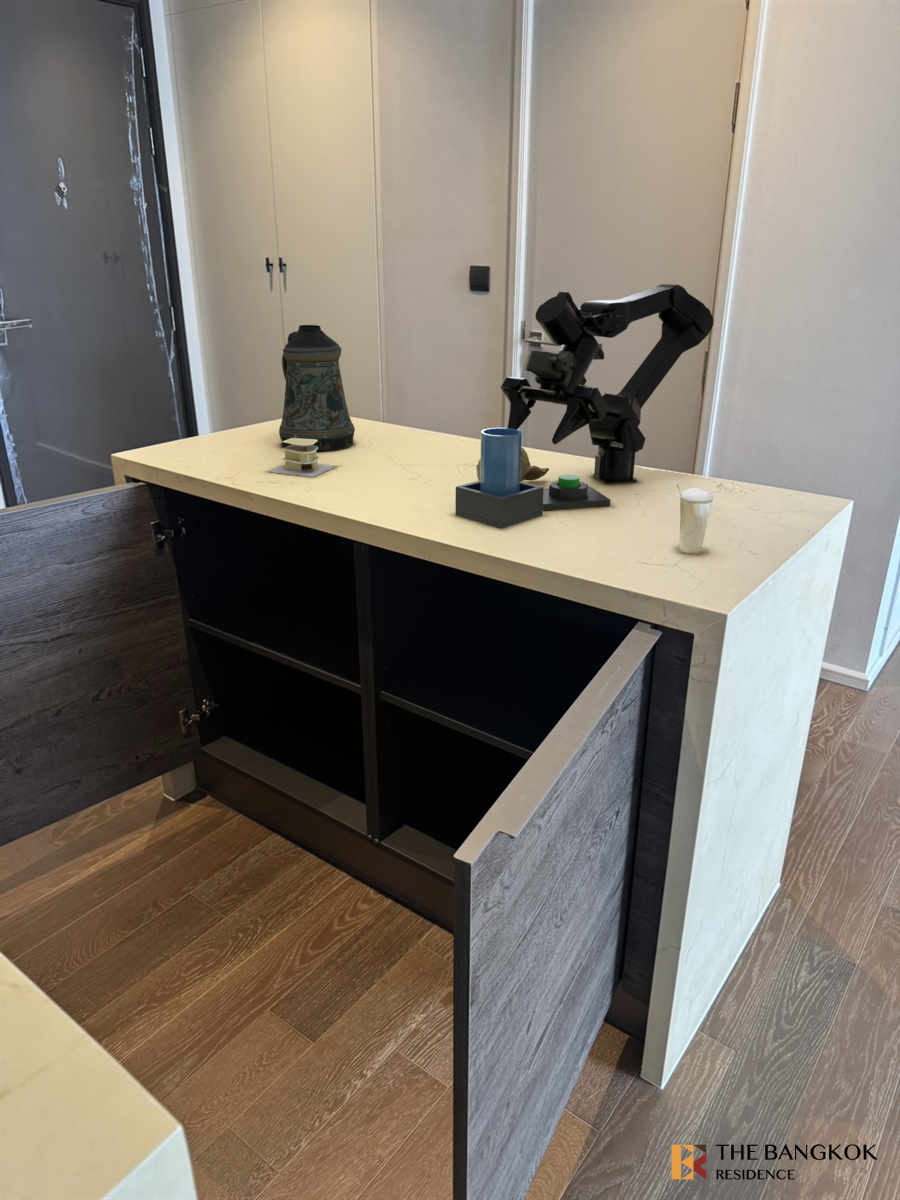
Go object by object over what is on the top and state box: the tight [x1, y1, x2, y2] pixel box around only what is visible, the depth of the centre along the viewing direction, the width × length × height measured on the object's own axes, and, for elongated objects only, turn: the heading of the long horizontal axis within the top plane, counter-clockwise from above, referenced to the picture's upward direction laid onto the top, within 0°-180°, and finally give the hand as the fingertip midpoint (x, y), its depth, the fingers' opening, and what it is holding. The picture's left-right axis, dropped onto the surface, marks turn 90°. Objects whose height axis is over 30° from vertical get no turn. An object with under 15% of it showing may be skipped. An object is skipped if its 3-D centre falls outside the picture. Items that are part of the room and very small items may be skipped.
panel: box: [542, 479, 611, 512], centre depth 149 cm, size 12×9×3 cm
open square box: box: [455, 480, 545, 529], centre depth 141 cm, size 10×10×5 cm
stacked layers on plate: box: [269, 438, 337, 478], centre depth 169 cm, size 10×9×6 cm
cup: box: [479, 427, 522, 497], centre depth 140 cm, size 6×6×13 cm
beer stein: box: [278, 324, 356, 453], centre depth 187 cm, size 16×19×25 cm
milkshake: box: [676, 483, 714, 555], centre depth 125 cm, size 4×5×10 cm
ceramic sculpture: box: [476, 446, 550, 482], centre depth 158 cm, size 11×9×15 cm
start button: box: [558, 474, 581, 488], centre depth 149 cm, size 4×4×2 cm
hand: (530, 438), depth 143 cm, fingers open, 9 cm apart
